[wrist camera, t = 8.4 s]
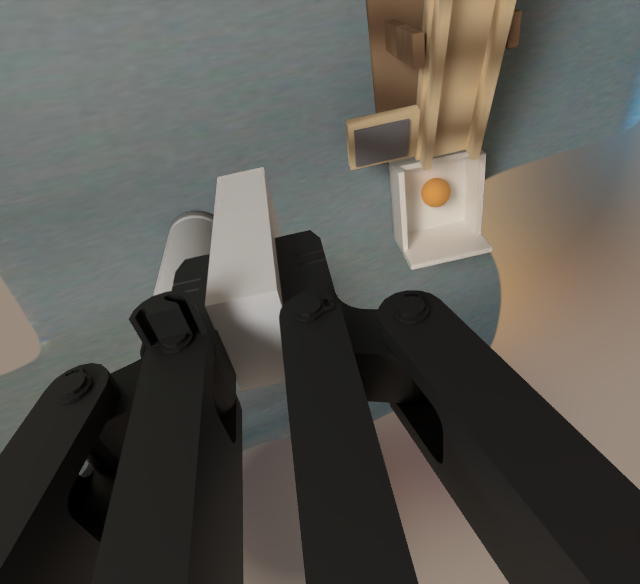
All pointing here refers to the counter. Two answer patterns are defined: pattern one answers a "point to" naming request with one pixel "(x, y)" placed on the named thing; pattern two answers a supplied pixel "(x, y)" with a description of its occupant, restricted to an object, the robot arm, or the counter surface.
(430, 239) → the white open box
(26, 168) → the counter surface
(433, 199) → the ball
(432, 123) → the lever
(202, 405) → the robot arm
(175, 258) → the travel mug
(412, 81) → the stand
